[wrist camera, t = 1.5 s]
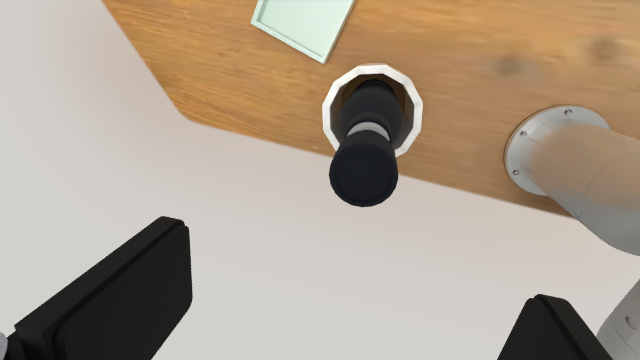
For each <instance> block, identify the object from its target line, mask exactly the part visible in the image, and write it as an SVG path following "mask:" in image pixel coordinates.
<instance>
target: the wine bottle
mask: <svg viewBox="0 0 640 360" xmlns="http://www.w3.org/2000/svg"><path fill="white" fill-rule="evenodd" d="M402 124H403V118H402V111H401V108H400V106H399V103H398V101H397V98H396V96H395V93H394V91H393V89H392V88H391V87H390V85H389V84H388V83H386V82H384V81H382V80H378V79H370V80H366V81H364V82H362V83H360V84H359V85H358V86H357V87H356V88H355V90H354V91H353V92H352V94H351V95H350V97H349V98H348V99H347V101H346V102H345V104H344V106H343V108H342V110H341V112H340V118H339V125H340V131H341V134H342V136H343V138H344V140H343V141H342V142H341V144H340V145H339V147H338V149H337V151H336V154H335V156H334V158H333V160H332V163H331V165H330V171H329V178H330V183H331V186H332V188H333V190H334V191H335V193H336V194H337V195H338V196H339V197H340V198H341V199H342V200H343V201H345V202H347V203H349V204H351V205H354V206H359V207H369V206H374V205H377V204H380V203H382V202H383V201H385V200H386V199H387V198H388V197H390V196H391V194H392V192H393V191H394V189H395V188H396V184H397V181H398V169H397V162H396V156H395V151H394V149H393V147H392V145H393V143H394V142H395V141H396V139H397V137H398V136H399V134H400V132H401V128H402Z"/></svg>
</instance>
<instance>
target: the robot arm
mask: <svg viewBox="0 0 640 360" xmlns="http://www.w3.org/2000/svg"><path fill="white" fill-rule="evenodd" d="M565 110H566V112H565ZM564 112H565V113H564ZM521 131H522V133H521V134H520V132H521ZM504 163H505V167H506V171H507V173H508V174H509V176H510V178H511V179H512V180H513V181H514V182H515V183H516V184H517V185H518V186H519V187H520V188H522V189H524V190H525V191H527V192H530V193H533V194H536V195H541V196H549V197H551V198H552V199H553V200H554V201H555V202H557V203H558V204H559V205H560V206H561V207H563V208H564V209H565V210H566V211H567V212H569V213H570V214H571V215H572V216H574V217H575V218H576V219H577V220H578V221H580V222H581V223H582V224H583V225H584V226H586V227H587V228H588V229H589V230H590V231H592V232H593V233H594V234H595V235H596V236H598V237H599V238H600V239H602V240H603V241H604V242H606V243H607V244H609V245H611V246H612V247H614V248H616V249H619V250H621V251H624V252H627V253H630V254H633V255H637V256H640V140H639V139H636V138H633V137H630V136H627V135H624V134H621V133H617V132H614V131H611V129H610V126H609V124H608V123H607V122H606V121H605V119H604V118H603V117H602V116H600V115H599V114H597V113H596V112H594V111H592V110H589V109H587V108H583V107H579V106H572V105H562V106H555V107H550V108H547V109H544V110H542V111H539V112H537V113H535V114H534V115H532V116H530V117H528V118H527V119H526V120H525V121H524V122H522V123H521V124H520V125H519V126H518V127H517V128H516V130H515V131H514V132H513V134H512V135H511V137H510V138H509V140H508V143H507V145H506V148H505V154H504ZM514 170H515V171H514ZM513 171H514V172H513ZM191 302H192V277H191V257H190V238H189V228H188V227H187V226H185V224H184V222H183V221H182V220H179V219H174V218H170V217H165V216H161V217H160V218H158V219H156V220H155V221H154V222H152V223H151V224H150V225H148V226H147V227H146V228H144V229H143V230H142V231H141V232H139V233H138V234H136V235H135V236H133V237H132V238H131V239H129V240H128V241H127V242H125V243H124V244H123V245H121V246H120V247H119V248H118V249H116V250H115V251H113V252H112V253H111V254H109V255H108V256H107V257H105V258H104V259H103V260H101V261H100V262H99V263H97V264H96V265H94V266H93V267H92V268H90V269H89V270H88V271H87V272H85V273H84V274H82V275H81V276H80V277H78V278H77V279H76V280H74V281H73V282H72V283H70V284H69V285H68V286H66V287H65V288H64V289H62V290H61V291H59V292H58V293H57V294H56V295H54V296H53V297H51V298H50V299H49V300H47V301H46V302H45V303H43V304H42V305H41V306H39V307H38V308H37V309H35V310H34V311H33V312H31V313H30V314H29V315H27V316H26V317H24V318H23V319H22V320H20V321H19V322H18V323H16V324H15V325H14V327H15V329H16V331H15V332H14V333H12V334H11V335H10V336H8V337H7V338H6V337H5V335H4V334H3V333H0V360H151V359H152V358H153V356H154V355H155V354H156V352H157V351H158V350H159V348H160V347H161V346H162V344H163V343H164V342H165V340H166V339H167V338H168V336H169V335H170V334H171V332H172V331H173V330H174V328H175V327H176V325H177V324H178V323H179V322H180V320H181V319H182V317H183V316H184V315H185V313H186V312H187V311H188V309H189V307H190V305H191ZM497 360H640V279H639V281H638V282H637V283H636V284H635V285H634V287H633V288H632V289H631V290H630V291H629V292H628V294H627V295H626V296H625V297H624V299H623V300H622V301H621V302H620V303H619V304H618V305H617V307H616V308H615V309H614V310H613V312H612V313H611V314H610V315H609V317H608V318H607V319H606V320H605V322H604V323H603V325H602V326H601V328H600V329H599V331H598V333H597V336H596V337H595V335H594V334H593V333H592V331H591V330H590V329H589V328H588V326H587V325H586V324H585V322H584V321H583V320H582V318H581V317H580V316H579V315H578V313H577V312H576V311H575V309H574V308H573V307H572V305H571V304H570V303H569V302H568V301H566V300H565V299H562V298H556V297H552V296H547V295H543V294H538V295H536V296H535V297H534V298H529V299H528V300H527V301H526V303H525V305H524V307H523V309H522V311H521V313H520V315H519V317H518V319H517V321H516V323H515V325H514V327H513V329H512V331H511V333H510V335H509V337H508V339H507V341H506V343H505V345H504V347H503V349H502V351H501V353H500V355H499V357H498V359H497Z"/></svg>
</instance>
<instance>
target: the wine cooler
mask: <svg viewBox="0 0 640 360" xmlns="http://www.w3.org/2000/svg"><path fill="white" fill-rule="evenodd" d="M379 73H384V74H385V75H387V76H389V77H391V78H393V79H394V80H396V81H398V82H400V83H401V85H402V86H403V88H404V90H405V92H406V99H405V111H404V112H403V114H402V118H403V124H402V128H401V132H400V134H399V136H398V137H397V139H396V141H395V142H394V143H393V145H392V147H393V149H394V151H395V156H396V157H398V156H399V155H401V154H403V153H405V152H406V151H407V150H408V148H409V147H410V145H411V144H412V142H413V141H414V140H415V138H416V137H417V135H418V134H419V132H420V131H421V122H422V107H423V102H422V100H421V98H420V97H419V95H418V93H417V91H416V89H415V87H414V85H413V83H412V82H411V80H410V78H409V77H407V76H406V75H405V74H404V73H402V72H400V71H399V70H397V69H395V68H393V67H391V66H390V65H388V64H386V63H384V62H381V63H363V64H361V65H359V66H357V67H356V68H354V69H353V70H351V71H350V72H348V73H347V74H345V75H343V76H342V77H340V78H339V79H337V80H336V81H334V83H333V85H332V87H331V89H330V91H329V93H328V95H327V97H326V99H325V101H324V103H323V105H322V112H323V131H324V133H325V134H326V136H327V138H328V139H329V141H330V142H331V144H332V145H333V147H334V149H335V150H336V151H337V149H338V147H339V145H340V144H341V142H342V141H343V140H344V138H343V136H342V134H341V131H340V125H339V118H340V112H341V110H342V93H343V91H344V89H345V87H346V85H347V83H348V82H349V81H350V80H352V79H353V78H355V77H356V76H358V75H359V74H379Z"/></svg>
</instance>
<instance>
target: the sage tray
mask: <svg viewBox="0 0 640 360" xmlns="http://www.w3.org/2000/svg"><path fill="white" fill-rule="evenodd" d="M355 2H356V0H259V1H258V4H257V6H256V9H255V12H254V15H253V18H252V20H251V24H253V25H254V26H256V27H258V28H260V29H262V30H263V31H265V32H267V33H269V34H270V35H272V36H274V37H276V38H278V39H279V40H281V41H283V42H285V43H287V44H288V45H290V46H292V47H294V48H296V49H297V50H299V51H301V52H303V53H305V54H306V55H308V56H310V57H312V58H313V59H315V60H317V61H319V62H321V63H322V64H325V63H326V62H327V60H328V58H329V56H330V54H331V52H332V50H333V48H334V46H335V44H336V41H337V39H338V37H339V35H340V33H341V31H342V29H343V27H344V25H345V23H346V21H347V19H348V16H349V14H350V12H351V10H352V8H353V6H354V4H355Z"/></svg>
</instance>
